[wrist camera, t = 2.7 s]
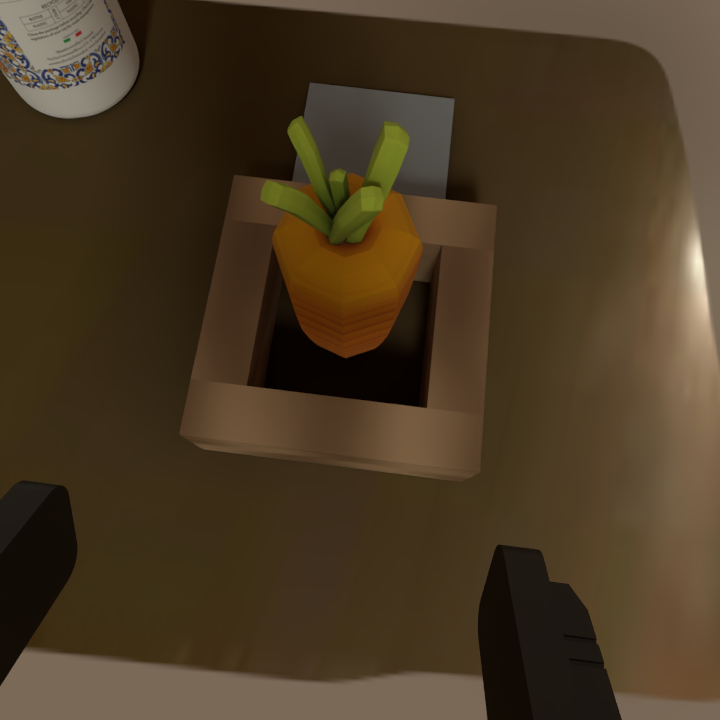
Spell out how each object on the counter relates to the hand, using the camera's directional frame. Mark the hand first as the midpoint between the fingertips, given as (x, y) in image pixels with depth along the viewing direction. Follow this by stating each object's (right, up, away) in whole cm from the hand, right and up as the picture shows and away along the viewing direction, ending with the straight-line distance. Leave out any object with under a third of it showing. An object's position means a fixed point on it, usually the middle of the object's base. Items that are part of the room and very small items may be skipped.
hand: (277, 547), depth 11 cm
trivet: (+2, +14, +21) cm, 26 cm away
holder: (+1, +4, +18) cm, 18 cm away
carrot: (+1, +4, +18) cm, 19 cm away
